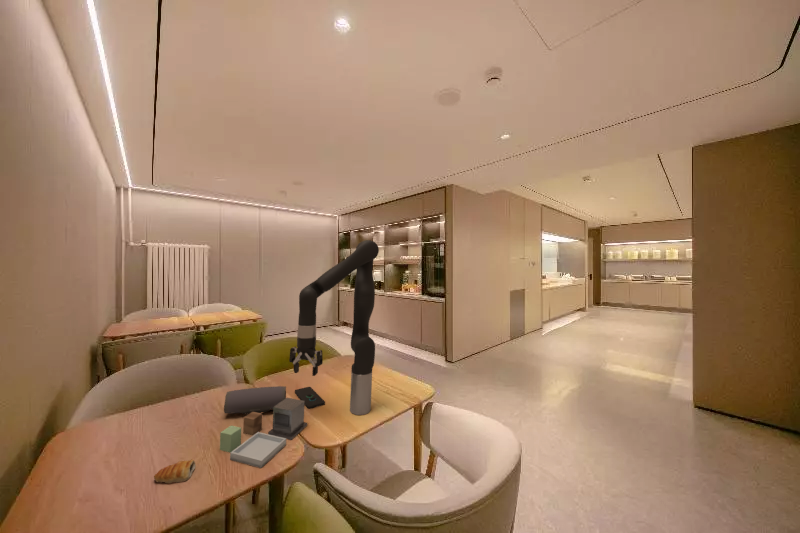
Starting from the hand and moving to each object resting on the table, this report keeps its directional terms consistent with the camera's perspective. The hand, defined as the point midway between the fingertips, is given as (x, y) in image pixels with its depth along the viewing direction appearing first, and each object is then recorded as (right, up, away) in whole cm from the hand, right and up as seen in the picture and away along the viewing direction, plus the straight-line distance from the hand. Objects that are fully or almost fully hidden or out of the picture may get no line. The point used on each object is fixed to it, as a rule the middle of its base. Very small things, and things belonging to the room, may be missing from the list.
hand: (305, 373), depth 119 cm
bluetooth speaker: (-22, -17, +3) cm, 28 cm away
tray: (-8, -18, -23) cm, 30 cm away
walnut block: (-16, -17, -11) cm, 26 cm away
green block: (-19, -17, -21) cm, 33 cm away
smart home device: (-4, -19, +16) cm, 25 cm away
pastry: (-26, -18, -35) cm, 47 cm away
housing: (-3, -18, -10) cm, 21 cm away
